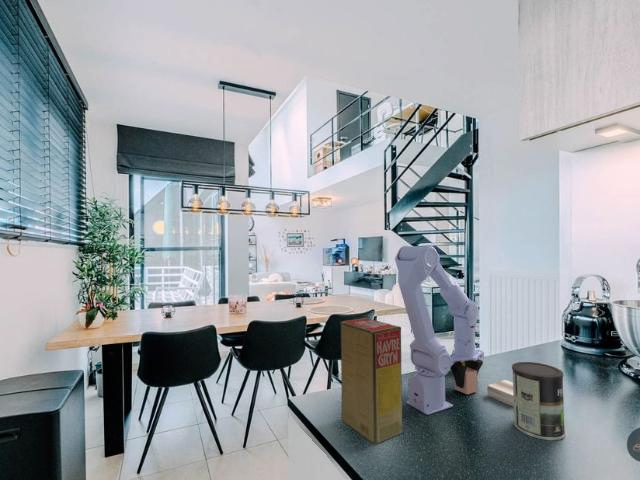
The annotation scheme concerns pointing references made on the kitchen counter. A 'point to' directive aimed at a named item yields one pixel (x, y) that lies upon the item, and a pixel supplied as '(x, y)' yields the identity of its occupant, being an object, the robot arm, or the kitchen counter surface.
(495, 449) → the kitchen counter surface
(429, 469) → the kitchen counter surface
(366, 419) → the food packaging
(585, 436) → the kitchen counter surface
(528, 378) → the coffee can
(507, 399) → the base
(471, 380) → the terracotta block
